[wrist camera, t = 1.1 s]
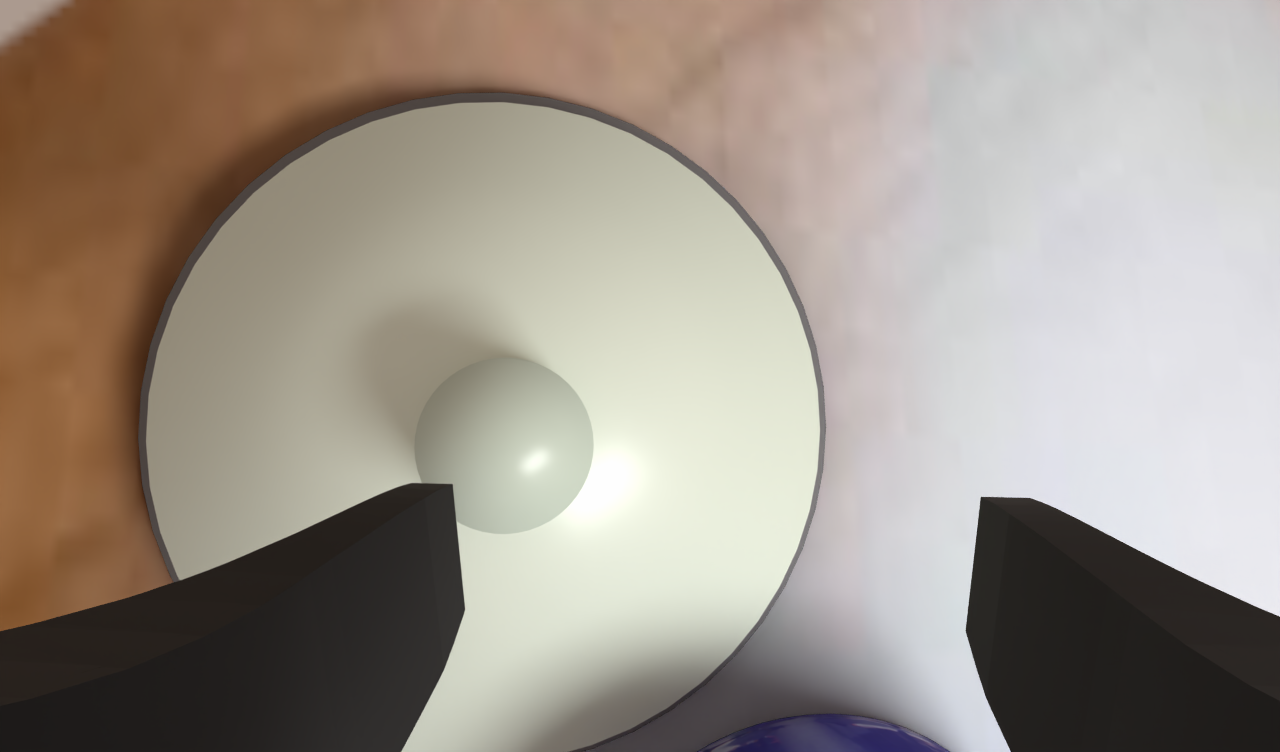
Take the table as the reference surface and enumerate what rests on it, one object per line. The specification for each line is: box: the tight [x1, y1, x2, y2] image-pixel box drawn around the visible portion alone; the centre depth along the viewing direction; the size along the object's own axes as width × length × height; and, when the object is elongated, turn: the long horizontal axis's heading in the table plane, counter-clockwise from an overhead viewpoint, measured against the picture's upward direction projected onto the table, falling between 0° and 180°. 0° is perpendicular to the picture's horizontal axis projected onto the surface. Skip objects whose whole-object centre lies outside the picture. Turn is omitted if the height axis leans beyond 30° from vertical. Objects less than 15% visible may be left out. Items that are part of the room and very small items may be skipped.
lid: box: [146, 102, 820, 752], centre depth 20 cm, size 17×17×3 cm
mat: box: [138, 93, 826, 752], centre depth 22 cm, size 18×18×1 cm
